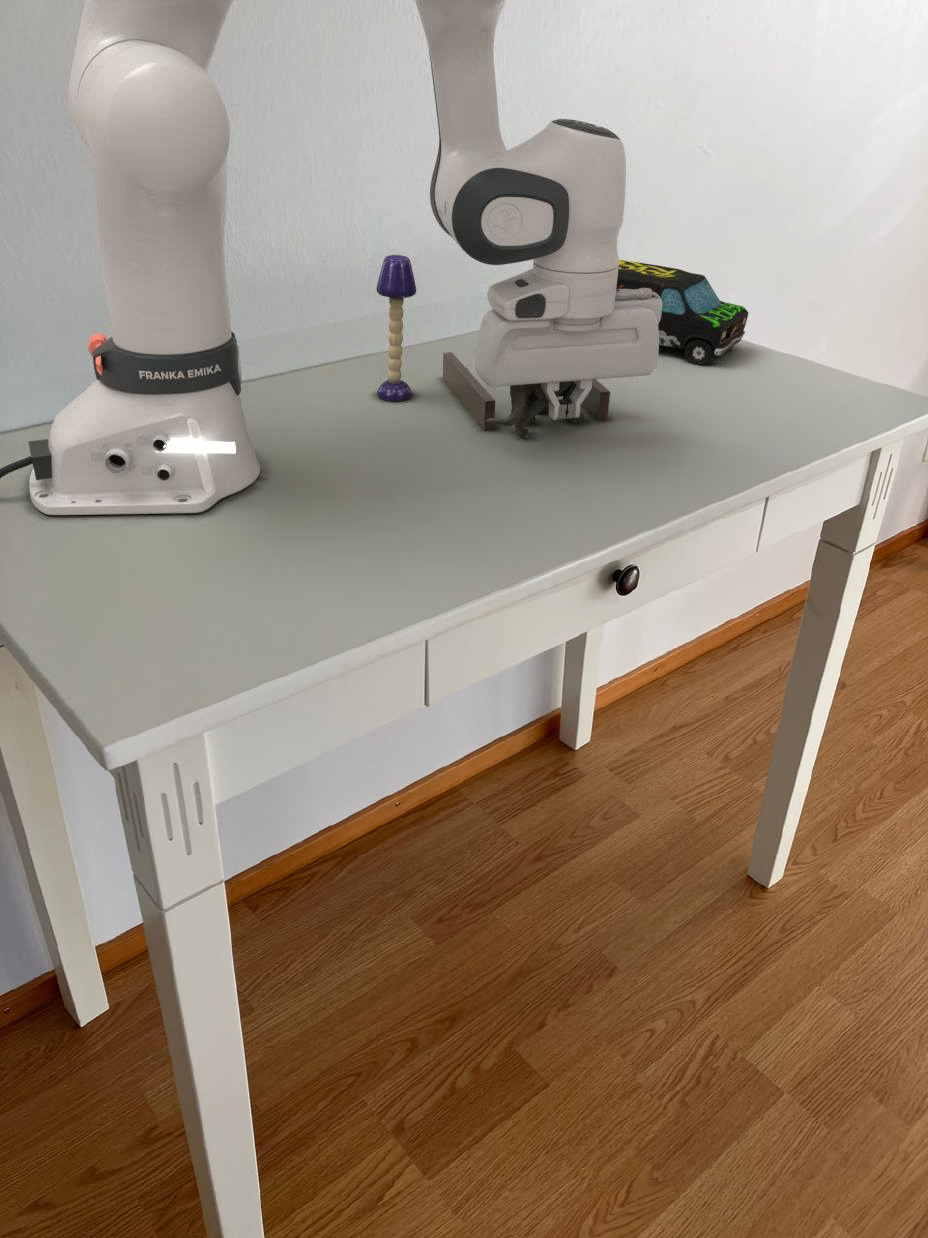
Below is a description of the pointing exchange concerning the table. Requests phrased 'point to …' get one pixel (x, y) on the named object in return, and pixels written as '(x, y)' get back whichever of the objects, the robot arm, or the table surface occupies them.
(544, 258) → the robot arm
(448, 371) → the walnut rails
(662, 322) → the toy van
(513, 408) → the toy dinosaur
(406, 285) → the toy lamp
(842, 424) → the table surface
